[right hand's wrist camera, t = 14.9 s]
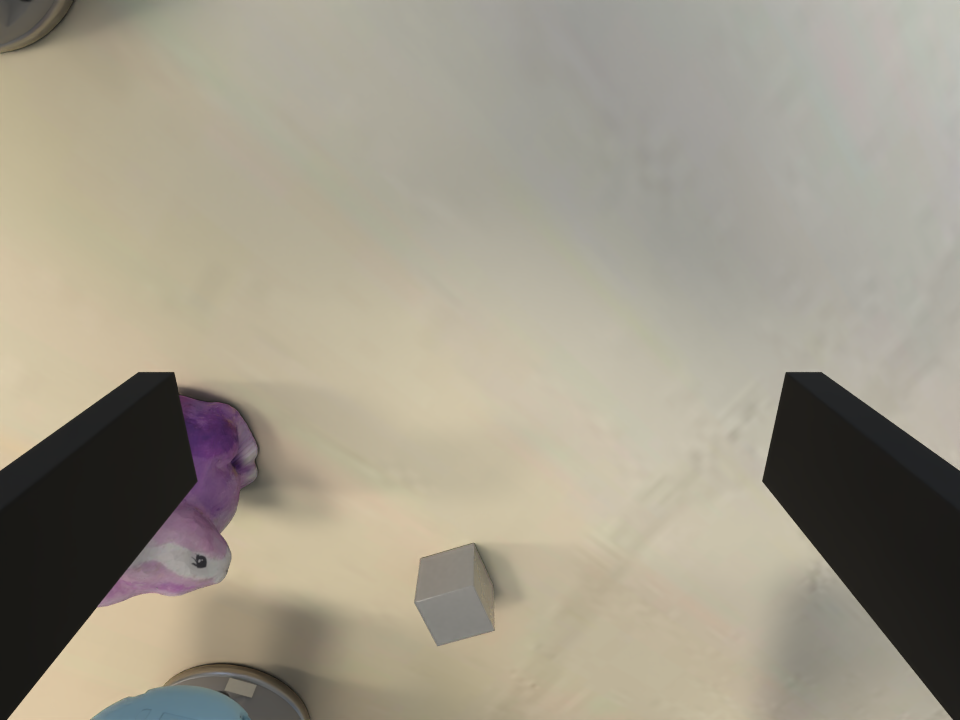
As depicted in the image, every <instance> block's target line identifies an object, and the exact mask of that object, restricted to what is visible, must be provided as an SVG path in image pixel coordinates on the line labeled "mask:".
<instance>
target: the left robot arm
mask: <svg viewBox="0 0 960 720" xmlns="http://www.w3.org/2000/svg"><path fill="white" fill-rule="evenodd" d="M90 720H310V718H309V714H308V712H307V709H306V707H305V705H304V704H303V702H302V701H301V699H300V698H299V697H298V696H297V695H296V693H295V692H294V691H292V690H291V689H290V688H289V687H288V686H286V685H285V684H284V683H282V682H281V681H279V680H278V679H276V678H274V677H272V676H270V675H268V674H266V673H263V672H261V671H258V670H255V669H251V668H247V667H243V666H237V665H227V664H214V665H204V666H199V667H195V668H191V669H188V670H186V671H183V672H181V673H179V674H177V675H176V676H174V677H173V678H171V679H170V680H169V681H168V682H167V683H166V684H165V685H164V686H163V687H158V688H154V689H150V690H148V691H147V692H146V693H145V694H142V695H138V696H136V697H127V698H124V699H122V700H120V701H118V702H116V703H114V704H112V705H111V706H109V707H107V708H106V709H104V710H103V711H101V712H100V713H98V714H97V715H96V716H94V717H93V718H92V719H90Z"/></svg>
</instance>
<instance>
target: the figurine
mask: <svg viewBox="0 0 960 720" xmlns="http://www.w3.org/2000/svg"><path fill="white" fill-rule="evenodd" d="M179 397H180V401H181V406H182V411H183V415H184V420H185V425H186V429H187V434H188V439H189V443H190V448H191V452H192V457H193V462H194V466H195V471H196V476H197V480H198V482H197V483H196V484H195V485H194V487H193V488H192V489H191V490H190V492H189V493H188V494H187V495H186V497H185V498H184V499H183V500H182V502H181V503H180V504H179V505H178V507H177V508H176V509H175V510H174V512H173V513H172V514H171V515H170V517H169V518H168V519H167V520H166V522H165V523H164V524H163V525H162V527H161V528H160V529H159V530H158V532H157V533H156V534H155V535H154V537H153V538H152V539H151V540H150V542H149V543H148V544H147V545H146V547H145V548H144V549H143V550H142V552H141V553H140V554H139V555H138V557H137V558H136V559H135V560H134V562H133V563H132V564H131V565H130V567H129V568H128V569H127V570H126V572H125V573H124V574H123V575H122V577H121V578H120V579H119V580H118V582H117V583H116V584H115V585H114V587H113V588H112V589H111V590H110V592H109V593H108V594H107V595H106V597H105V598H104V599H103V600H102V602H101V603H100V604H99V605H98V607H102V606H109V605H112V604H115V603H118V602H121V601H124V600H126V599H128V598H131V597H133V596H136V595H140V594H145V593H158V594H162V595H166V596H179V595H183V594H185V593H188V592H191V591H193V590H196V589H199V588H203V587H206V586H210V585H213V584H217V583H219V582H221V581H222V580H223V579H224V578H225V576H226V574H227V572H228V568H229V565H230V562H231V551H230V549H229V546H228V544H227V542H226V541H225V539H224V538H223V537H222V536H221V534H220V533H221V532H222V531H223V530H224V529H225V527H226V526H227V525H228V524H229V522H230V521H231V520H232V518H233V516H234V514H235V512H236V509H237V505H238V501H239V493H240V489H242V488H243V487H245V486H247V485H248V484H250V483H252V482H253V481H254V480H255V479H256V478H257V474H258V470H257V468H256V464H255V461H254V460H255V458H256V456H257V454H258V446H257V445H256V441H255V439H254V437H253V436H252V433H251V432H250V430H249V428H248V426H247V424H246V422H245V421H244V420H243V418H242V417H241V416H240V414H239V412H238V411H237V410H236V409H235V408H233V407H231V406H230V405H229V404H225V403H219V402H212V403H210V402H205V401H200V400H196V399H193V398H190V397H186V396H182V395H179Z"/></svg>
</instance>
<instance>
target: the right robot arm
mask: <svg viewBox="0 0 960 720" xmlns="http://www.w3.org/2000/svg"><path fill="white" fill-rule="evenodd" d="M72 2H73V0H0V53H1V52H7V51H13V50H16V49H19V48H23V47H25V46H27V45H30V44H32V43H34V42H36V41H37V40H39V39H41V38H42V37H44V36H45V35H46V34H47V33H49V32H50V31H51V30H52V29H53V28H54V27H55V26H56V25H57V24H58V23H59V22H60V21H61V20H62V18H63V17H64V15H65V14H66V13H67V11H68V9H69V8H70V6H71V4H72ZM197 482H198V480H197V476H196V471H195V466H194V462H193V457H192V452H191V448H190V443H189V439H188V434H187V429H186V425H185V420H184V415H183V411H182V406H181V401H180V397H179V392H178V388H177V383H176V378H175V374H174V372H138V373H137V374H135V375H134V376H133V377H131V378H130V379H128V380H127V381H126V382H124V383H123V384H121V385H120V386H119V387H117V388H116V389H114V390H113V391H111V392H110V393H109V394H107V395H106V396H104V397H103V398H102V399H100V400H99V401H97V402H96V403H95V404H93V405H92V406H90V407H89V408H88V409H86V410H85V411H83V412H82V413H81V414H79V415H78V416H76V417H75V418H74V419H72V420H71V421H69V422H68V423H67V424H65V425H64V426H62V427H61V428H60V429H58V430H57V431H55V432H54V433H53V434H51V435H50V436H48V437H47V438H46V439H44V440H43V441H41V442H40V443H39V444H37V445H36V446H34V447H33V448H32V449H30V450H29V451H27V452H26V453H25V454H23V455H22V456H20V457H19V458H18V459H16V460H15V461H13V462H12V463H11V464H9V465H8V466H6V467H5V468H4V469H2V470H1V471H0V720H7V719H8V718H9V717H10V715H11V714H12V713H13V712H14V710H15V709H16V708H17V707H18V705H19V704H20V703H21V702H22V700H23V699H24V698H25V697H26V695H27V694H28V693H29V692H30V690H31V689H32V688H33V687H34V685H35V684H36V683H37V682H38V680H39V679H40V678H41V677H42V675H43V674H44V673H45V672H46V670H47V669H48V668H49V667H50V665H51V664H52V663H53V662H54V660H55V659H56V658H57V657H58V655H59V654H60V653H61V652H62V650H63V649H64V648H65V647H66V645H67V644H68V643H69V642H70V640H71V639H72V638H73V637H74V635H75V634H76V633H77V632H78V630H79V629H80V628H81V627H82V625H83V624H84V623H85V622H86V620H87V619H88V618H89V617H90V615H91V614H92V613H93V612H94V610H95V609H96V608H97V607H98V605H99V604H100V603H101V602H102V600H103V599H104V598H105V597H106V595H107V594H108V593H109V592H110V590H111V589H112V588H113V587H114V585H115V584H116V583H117V582H118V580H119V579H120V578H121V577H122V575H123V574H124V573H125V572H126V570H127V569H128V568H129V567H130V565H131V564H132V563H133V562H134V560H135V559H136V558H137V557H138V555H139V554H140V553H141V552H142V550H143V549H144V548H145V547H146V545H147V544H148V543H149V542H150V540H151V539H152V538H153V537H154V535H155V534H156V533H157V532H158V530H159V529H160V528H161V527H162V525H163V524H164V523H165V522H166V520H167V519H168V518H169V517H170V515H171V514H172V513H173V512H174V510H175V509H176V508H177V507H178V505H179V504H180V503H181V502H182V500H183V499H184V498H185V497H186V495H187V494H188V493H189V492H190V490H191V489H192V488H193V487H194V485H195V484H196V483H197ZM762 482H763V483H764V484H765V485H766V487H767V488H768V489H769V490H770V492H771V493H772V494H773V495H774V497H775V498H776V499H777V500H778V502H779V503H780V504H781V505H782V507H783V508H784V509H785V510H786V512H787V513H788V514H789V515H790V517H791V518H792V519H793V520H794V522H795V523H796V524H797V525H798V527H799V528H800V529H801V530H802V532H803V533H804V534H805V535H806V537H807V538H808V539H809V540H810V542H811V543H812V544H813V545H814V547H815V548H816V549H817V550H818V552H819V553H820V554H821V555H822V557H823V558H824V559H825V560H826V562H827V563H828V564H829V565H830V567H831V568H832V569H833V570H834V572H835V573H836V574H837V575H838V577H839V578H840V579H841V580H842V582H843V583H844V584H845V585H846V587H847V588H848V589H849V590H850V592H851V593H852V594H853V595H854V597H855V598H856V599H857V600H858V602H859V603H860V604H861V605H862V607H863V608H864V609H865V610H866V612H867V613H868V614H869V615H870V617H871V618H872V619H873V620H874V622H875V623H876V624H877V625H878V627H879V628H880V629H881V630H882V632H883V633H884V634H885V635H886V637H887V638H888V639H889V640H890V642H891V643H892V644H893V645H894V647H895V648H896V649H897V650H898V652H899V653H900V654H901V655H902V657H903V658H904V659H905V660H906V662H907V663H908V664H909V665H910V667H911V668H912V669H913V670H914V672H915V673H916V674H917V675H918V677H919V678H920V679H921V680H922V682H923V683H924V684H925V685H926V687H927V688H928V689H929V690H930V692H931V693H932V694H933V695H934V697H935V698H936V699H937V700H938V702H939V703H940V704H941V705H942V707H943V708H944V709H945V710H946V712H947V713H948V714H949V715H950V717H951V718H952V719H953V720H960V471H959V470H958V469H956V468H955V467H954V466H952V465H951V464H949V463H948V462H947V461H945V460H944V459H942V458H941V457H940V456H938V455H937V454H935V453H934V452H933V451H931V450H930V449H928V448H927V447H926V446H924V445H923V444H921V443H920V442H919V441H917V440H916V439H914V438H913V437H912V436H910V435H909V434H907V433H906V432H905V431H903V430H902V429H900V428H899V427H898V426H896V425H895V424H893V423H892V422H891V421H889V420H888V419H886V418H885V417H884V416H882V415H881V414H879V413H878V412H877V411H875V410H874V409H872V408H871V407H870V406H868V405H867V404H865V403H864V402H863V401H861V400H860V399H858V398H857V397H856V396H854V395H853V394H851V393H850V392H849V391H847V390H846V389H844V388H843V387H841V386H840V385H839V384H837V383H836V382H834V381H833V380H832V379H830V378H829V377H827V376H826V375H825V374H823V373H822V372H786V374H785V378H784V383H783V388H782V392H781V397H780V401H779V406H778V411H777V415H776V420H775V425H774V429H773V434H772V439H771V443H770V448H769V452H768V457H767V462H766V466H765V471H764V476H763V480H762Z"/></svg>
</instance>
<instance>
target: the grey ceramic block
mask: <svg viewBox="0 0 960 720" xmlns="http://www.w3.org/2000/svg"><path fill="white" fill-rule="evenodd" d="M414 603H415V605H416V607H417V609H418V610H419V612H420V614H421V616H422V618H423V620H424V622H425V624H426V626H427V628H428V629H429V631H430V633H431V635H432V637H433V639H434V641H435V643H436V645H437V646H440V645H444V644H448V643H451V642H455V641H459V640H462V639H466V638H470V637H473V636H477V635H481V634H484V633H488V632H492V631H495V625H494V591H493V584H492V581H491V579H490V577H489V575H488V573H487V570H486V568H485V566H484V564H483V562H482V559H481V557H480V555H479V553H478V551H477V548H476V546H475V544H474V543H472V544H468V545H465V546H462V547H458V548H455V549H451V550H448V551H445V552H441V553H438V554H435V555H431V556H428V557H424V558H421V559H420V564H419V572H418V579H417V586H416V593H415V600H414Z"/></svg>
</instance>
